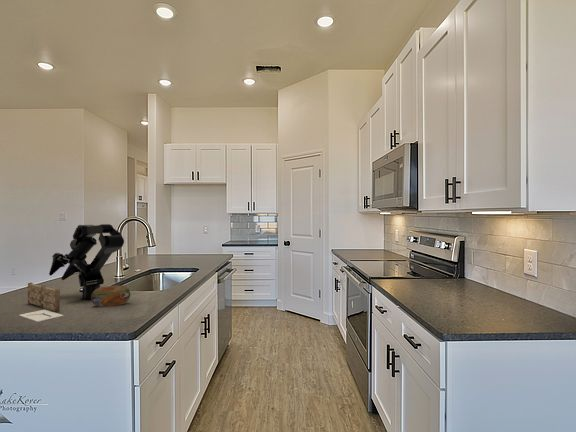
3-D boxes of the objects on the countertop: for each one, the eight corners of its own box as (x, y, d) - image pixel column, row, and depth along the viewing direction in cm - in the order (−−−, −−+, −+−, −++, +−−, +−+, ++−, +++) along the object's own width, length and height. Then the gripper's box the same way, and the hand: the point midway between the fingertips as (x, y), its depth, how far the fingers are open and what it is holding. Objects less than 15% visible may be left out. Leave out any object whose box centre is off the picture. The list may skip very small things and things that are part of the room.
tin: (90, 307, 145) (91, 287, 145) (91, 306, 148) (91, 286, 148) (130, 304, 152) (130, 285, 152) (129, 302, 155) (130, 283, 155)
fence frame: (60, 311, 139) (60, 289, 139) (55, 312, 137) (55, 289, 137) (44, 306, 145) (44, 285, 145) (39, 307, 143) (39, 286, 143)
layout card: (63, 315, 133) (63, 314, 133) (37, 322, 125) (37, 320, 125) (44, 310, 140) (44, 309, 140) (19, 315, 132) (19, 314, 132)
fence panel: (44, 305, 145) (44, 285, 145) (38, 306, 143) (39, 286, 143) (31, 301, 150) (31, 282, 150) (26, 302, 149) (26, 283, 149)
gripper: (104, 263, 164) (80, 291, 155) (80, 256, 172) (56, 282, 163) (89, 249, 156) (63, 278, 147) (64, 242, 164) (38, 269, 155)
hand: (55, 277), depth 154 cm, fingers open, 9 cm apart
